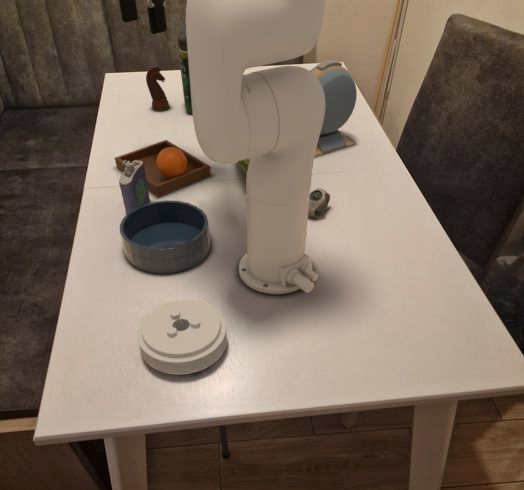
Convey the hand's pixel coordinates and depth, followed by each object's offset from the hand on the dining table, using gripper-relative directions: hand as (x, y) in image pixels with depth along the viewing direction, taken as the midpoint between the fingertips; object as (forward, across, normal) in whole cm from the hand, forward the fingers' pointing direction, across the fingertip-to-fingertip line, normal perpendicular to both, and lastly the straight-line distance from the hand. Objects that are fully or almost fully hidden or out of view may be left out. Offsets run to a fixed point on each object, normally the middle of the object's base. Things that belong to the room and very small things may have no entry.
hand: (144, 26), depth 91 cm
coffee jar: (+27, -19, +24) cm, 41 cm away
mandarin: (+22, +8, -3) cm, 24 cm away
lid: (+26, +50, -30) cm, 64 cm away
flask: (+26, +15, -16) cm, 34 cm away
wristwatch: (+26, +38, +11) cm, 48 cm away
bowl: (+26, +28, -18) cm, 42 cm away
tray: (+26, +4, -3) cm, 27 cm away
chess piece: (+27, -26, +16) cm, 41 cm away
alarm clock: (+26, +17, +34) cm, 46 cm away
